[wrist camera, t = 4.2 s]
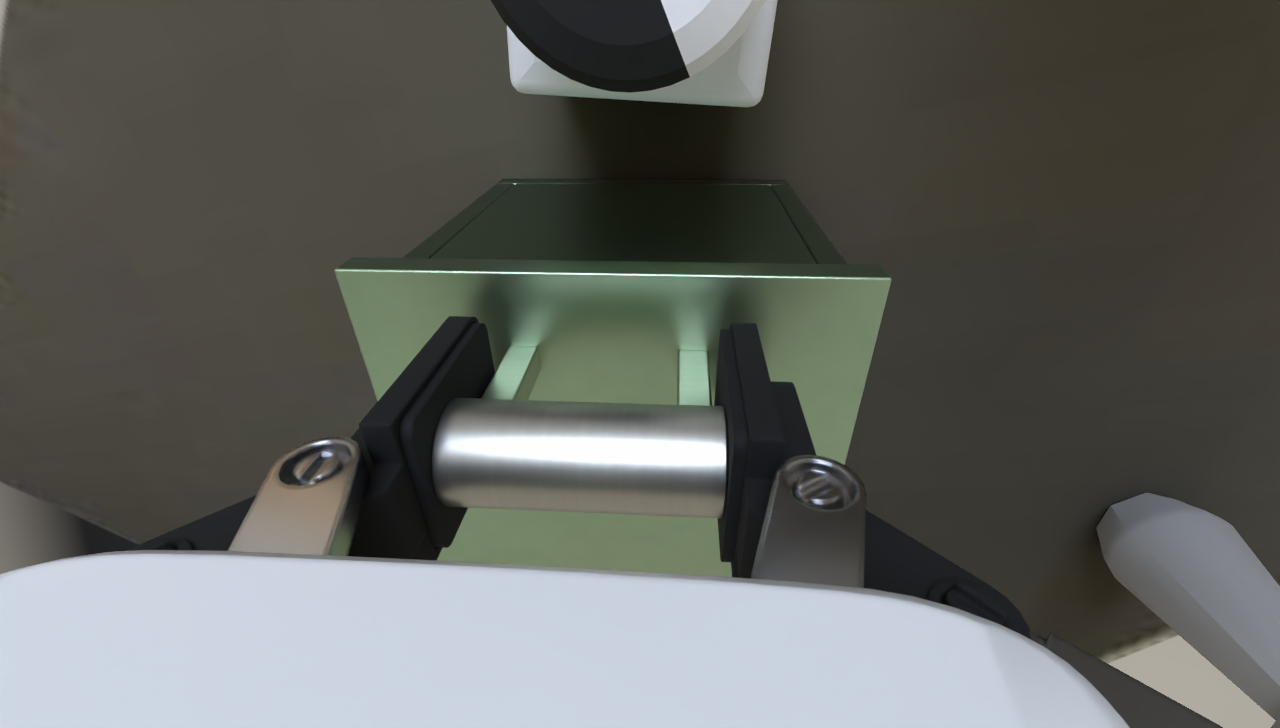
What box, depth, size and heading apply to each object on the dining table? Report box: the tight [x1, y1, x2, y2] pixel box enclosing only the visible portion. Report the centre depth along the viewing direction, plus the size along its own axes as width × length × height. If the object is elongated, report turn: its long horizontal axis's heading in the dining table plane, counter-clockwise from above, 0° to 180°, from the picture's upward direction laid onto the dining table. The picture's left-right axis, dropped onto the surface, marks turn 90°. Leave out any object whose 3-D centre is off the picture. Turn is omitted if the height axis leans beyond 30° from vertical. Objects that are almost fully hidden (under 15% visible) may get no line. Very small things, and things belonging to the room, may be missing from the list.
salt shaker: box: [1096, 492, 1280, 728], centre depth 25 cm, size 6×6×13 cm
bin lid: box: [335, 258, 892, 577], centre depth 14 cm, size 16×12×5 cm
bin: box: [403, 179, 847, 264], centre depth 22 cm, size 16×12×12 cm
